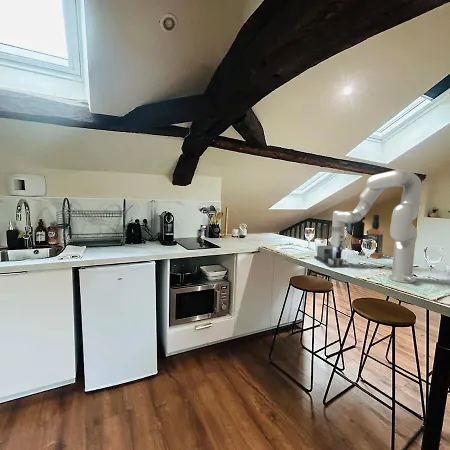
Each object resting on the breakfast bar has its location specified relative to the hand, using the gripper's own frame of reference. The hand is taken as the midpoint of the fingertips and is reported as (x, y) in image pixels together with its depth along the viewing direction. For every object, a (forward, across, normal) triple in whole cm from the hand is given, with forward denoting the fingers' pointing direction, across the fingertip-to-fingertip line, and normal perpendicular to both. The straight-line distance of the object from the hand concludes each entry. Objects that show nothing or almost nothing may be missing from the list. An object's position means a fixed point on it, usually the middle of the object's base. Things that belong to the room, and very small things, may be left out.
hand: (336, 256), depth 181 cm
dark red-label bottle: (+6, +35, -33) cm, 48 cm away
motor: (+6, +10, 0) cm, 12 cm away
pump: (+1, 0, 0) cm, 1 cm away
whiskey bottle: (+6, +25, -41) cm, 48 cm away
